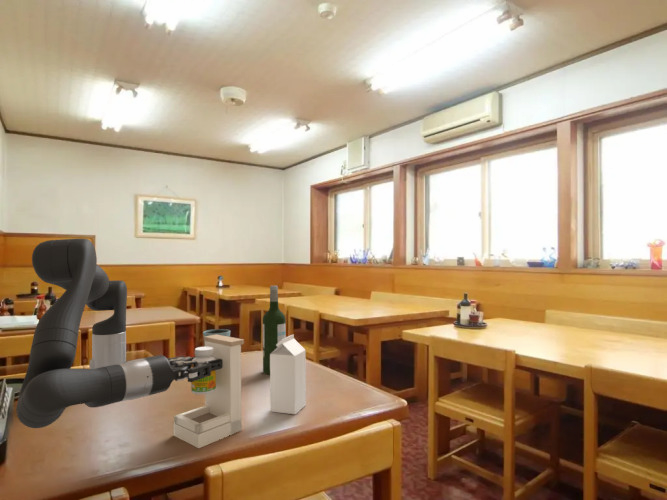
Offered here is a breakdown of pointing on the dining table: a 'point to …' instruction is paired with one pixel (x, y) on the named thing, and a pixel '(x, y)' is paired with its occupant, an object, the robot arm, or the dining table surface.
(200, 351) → the supplement bottle
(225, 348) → the white feeder tower
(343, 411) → the dining table surface
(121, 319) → the robot arm
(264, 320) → the wine bottle
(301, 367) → the milk carton
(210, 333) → the drinking glass
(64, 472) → the dining table surface
